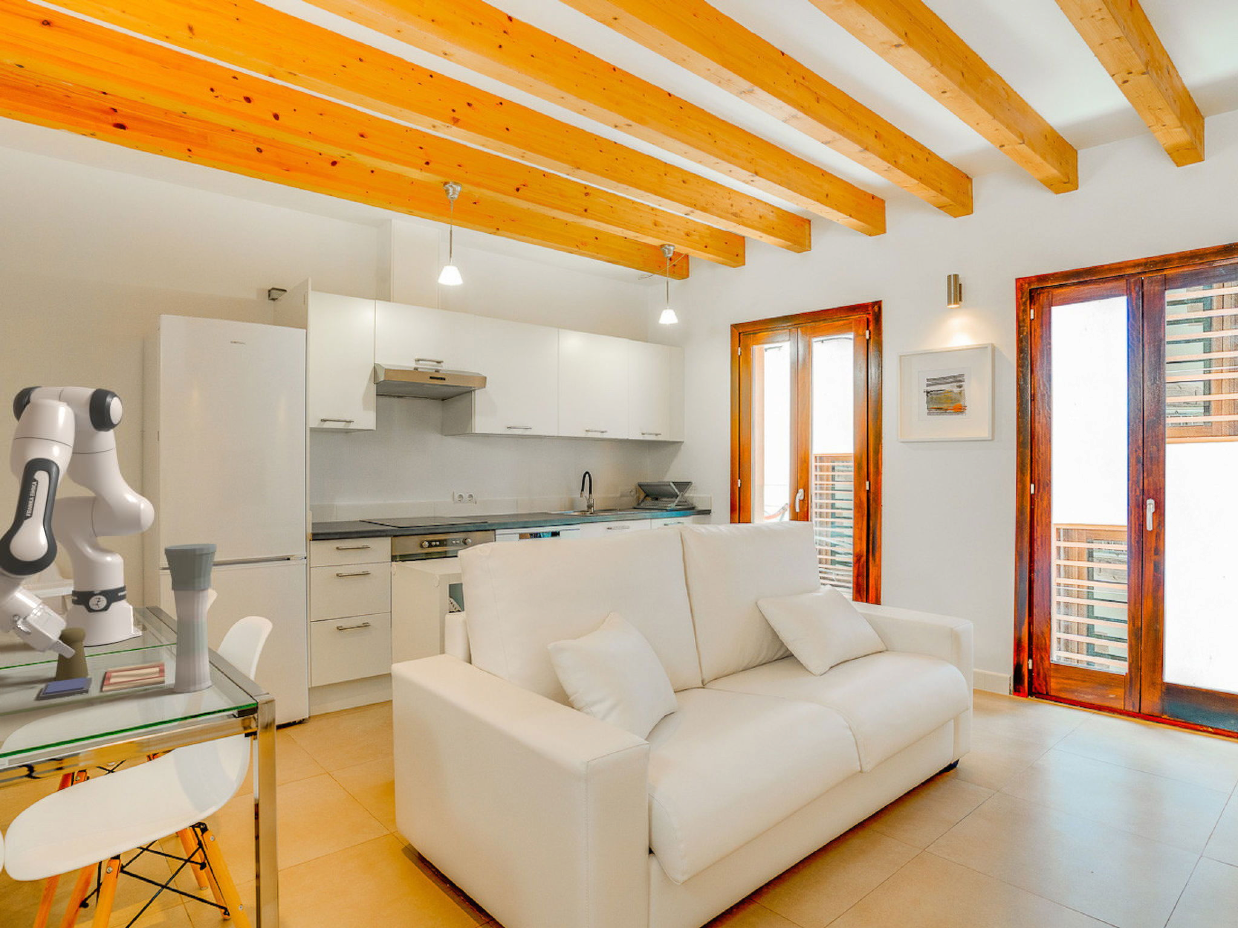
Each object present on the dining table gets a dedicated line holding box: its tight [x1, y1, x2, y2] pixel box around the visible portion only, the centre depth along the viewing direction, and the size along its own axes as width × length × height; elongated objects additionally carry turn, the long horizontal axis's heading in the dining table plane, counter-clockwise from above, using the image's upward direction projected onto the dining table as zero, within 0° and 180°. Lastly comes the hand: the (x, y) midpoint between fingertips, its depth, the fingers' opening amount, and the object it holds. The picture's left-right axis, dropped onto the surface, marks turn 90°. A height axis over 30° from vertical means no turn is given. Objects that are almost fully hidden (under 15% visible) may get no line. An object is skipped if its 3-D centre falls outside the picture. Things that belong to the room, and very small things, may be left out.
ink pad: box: [38, 676, 93, 701], centre depth 152 cm, size 10×8×1 cm
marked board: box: [102, 661, 166, 693], centre depth 161 cm, size 18×11×1 cm, turn 32°
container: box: [164, 543, 217, 694], centre depth 153 cm, size 10×10×30 cm
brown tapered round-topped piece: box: [54, 627, 89, 682], centre depth 162 cm, size 6×6×11 cm
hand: (74, 650), depth 162 cm, fingers open, 8 cm apart
